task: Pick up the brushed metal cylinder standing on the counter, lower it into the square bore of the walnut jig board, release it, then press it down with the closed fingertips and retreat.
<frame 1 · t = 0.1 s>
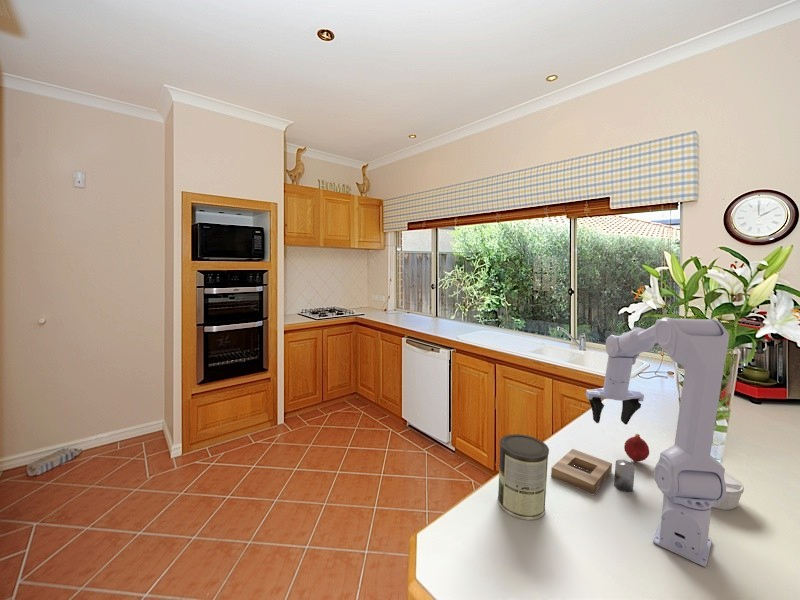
hand: (609, 421, 99), 10 cm above the countertop, tool pointing down, fingers open, 7 cm apart
brushed metal cylinder: (623, 487, 87), on the countertop
ramekin: (709, 498, 83), on the countertop
coffee can: (520, 505, 79), on the countertop
jig: (581, 474, 92), on the countertop
onion: (635, 462, 98), on the countertop
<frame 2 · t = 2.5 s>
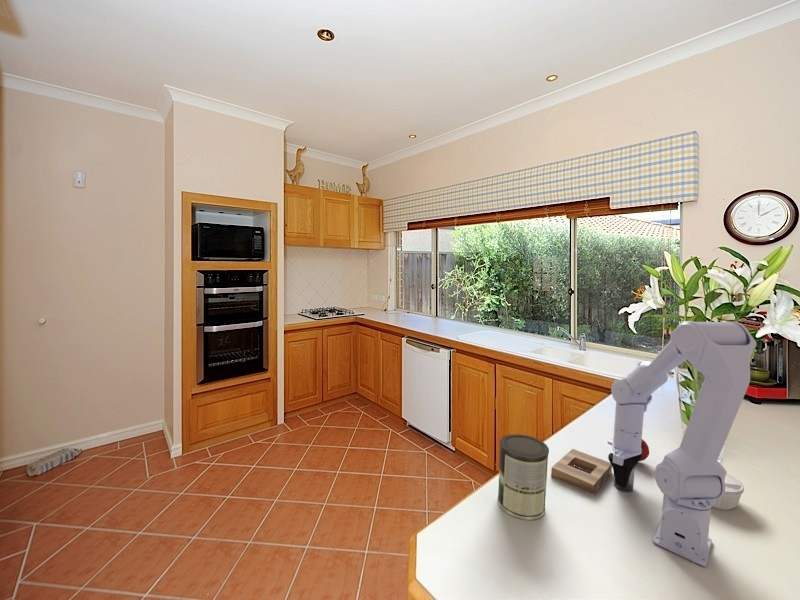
hand: (623, 481, 86), 1 cm above the countertop, tool pointing down, fingers closed on brushed metal cylinder, 4 cm apart
brushed metal cylinder: (623, 487, 87), on the countertop, touching gripper
everything else where it was.
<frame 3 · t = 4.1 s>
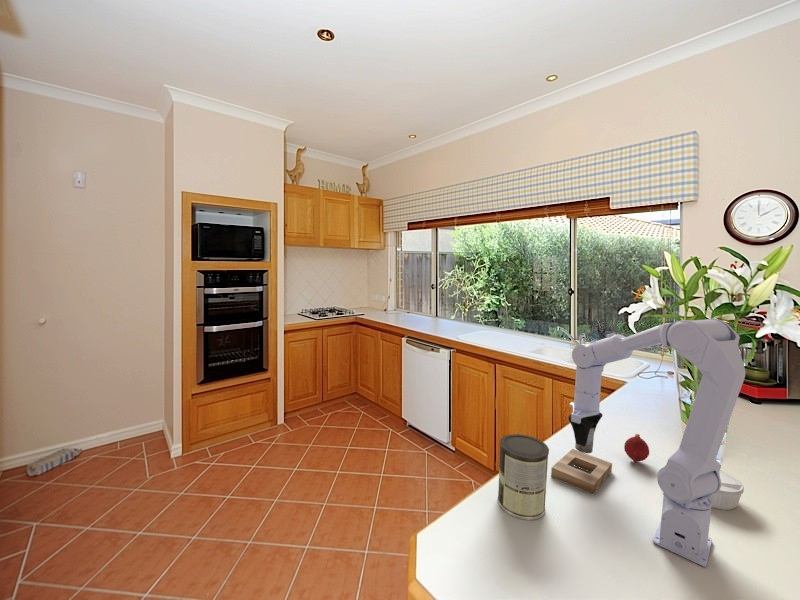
hand: (583, 441, 91), 9 cm above the countertop, tool pointing down, fingers closed on brushed metal cylinder, 4 cm apart
brushed metal cylinder: (583, 449, 91), point 7 cm above the countertop, touching gripper
everything else where it was.
when the fingers open (3 cm above the countertop, at t = 6.0 s): brushed metal cylinder drops 1 cm, resting in jig.
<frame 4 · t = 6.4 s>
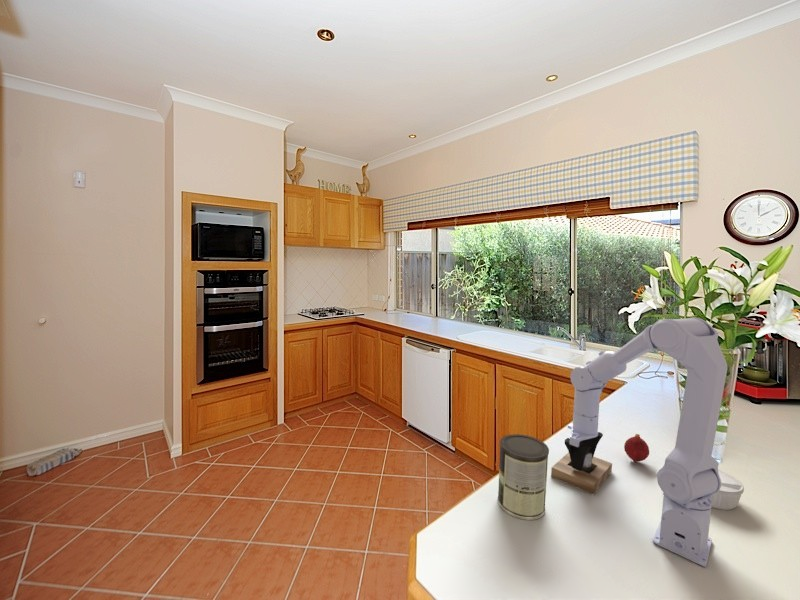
hand: (582, 463, 91), 3 cm above the countertop, tool pointing down, fingers open, 7 cm apart
brushed metal cylinder: (581, 474, 92), resting in jig
everything else where it was.
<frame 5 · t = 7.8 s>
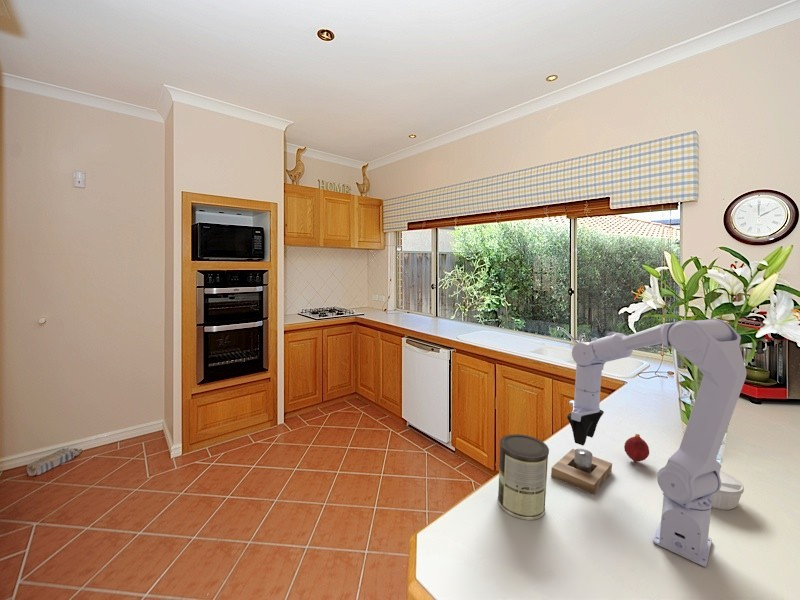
hand: (584, 439, 91), 9 cm above the countertop, tool pointing down, fingers open, 6 cm apart
nothing on the countertop moved.
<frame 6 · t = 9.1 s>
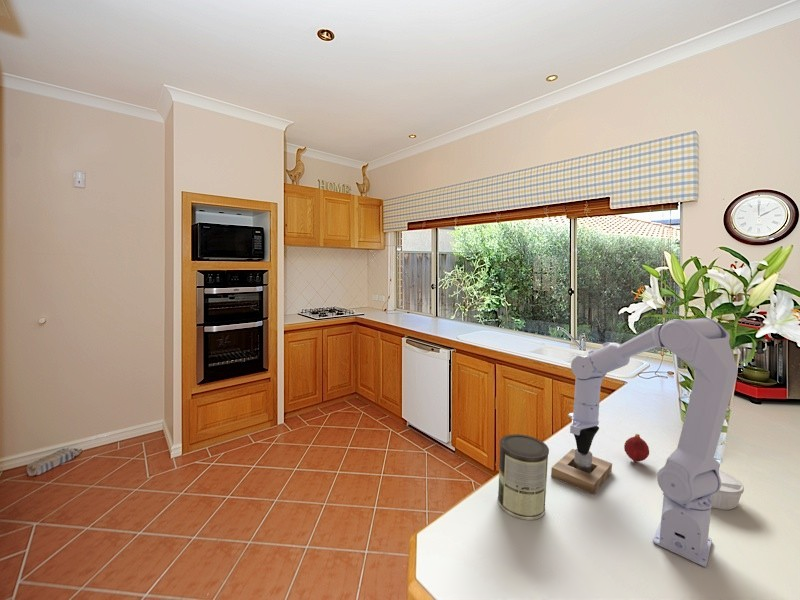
hand: (582, 452, 91), 6 cm above the countertop, tool pointing down, fingers closed, pressing on brushed metal cylinder
brushed metal cylinder: (581, 474, 92), resting in jig, touching gripper
everything else where it was.
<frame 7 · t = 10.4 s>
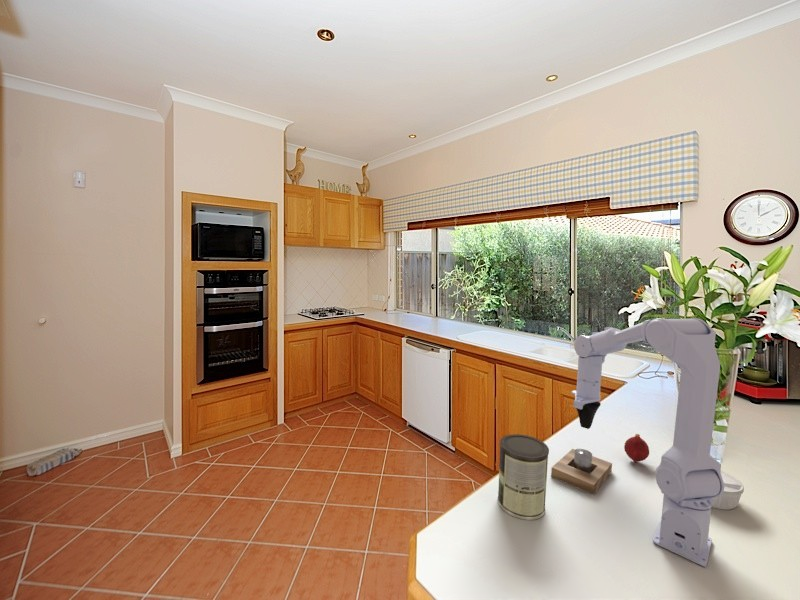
hand: (585, 427, 97), 10 cm above the countertop, tool pointing down, fingers closed
brushed metal cylinder: (581, 474, 92), resting in jig
everything else where it was.
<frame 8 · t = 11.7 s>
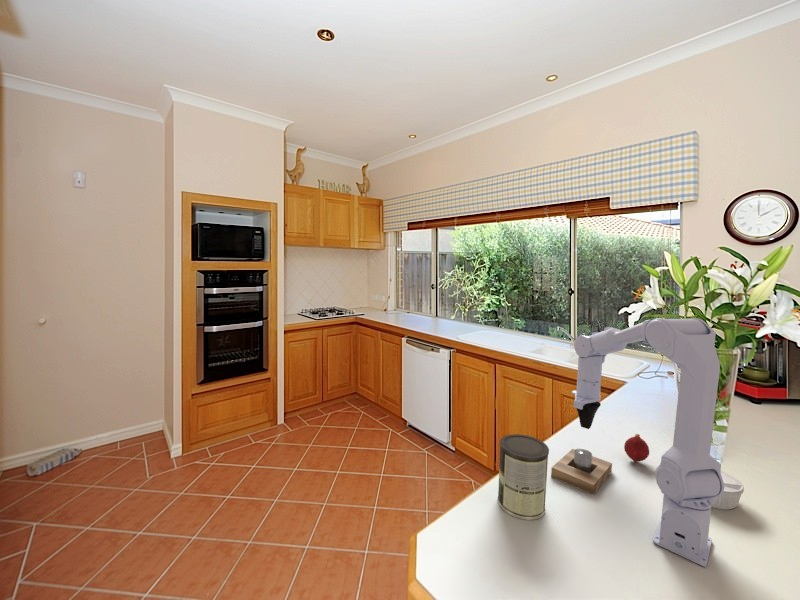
hand: (585, 427, 97), 10 cm above the countertop, tool pointing down, fingers closed
nothing on the countertop moved.
at the end: brushed metal cylinder 0.1 cm off-centre on the jig, point 0.0 cm above the jig's base; brushed metal cylinder tilted 0°; the gripper is holding nothing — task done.
